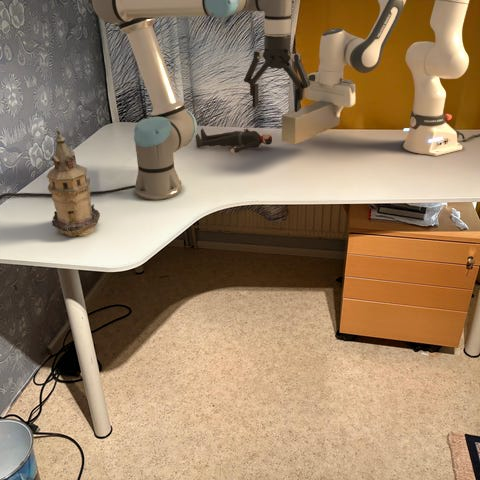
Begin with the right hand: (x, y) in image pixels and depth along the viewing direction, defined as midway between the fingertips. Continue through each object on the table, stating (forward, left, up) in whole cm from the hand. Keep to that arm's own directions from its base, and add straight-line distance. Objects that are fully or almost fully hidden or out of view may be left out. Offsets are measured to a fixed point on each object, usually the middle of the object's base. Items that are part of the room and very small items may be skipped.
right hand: (328, 114), depth 199 cm
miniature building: (+94, +33, -15) cm, 101 cm away
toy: (+31, -19, -15) cm, 39 cm away
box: (+9, +5, -4) cm, 11 cm away
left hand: (+31, +27, +12) cm, 43 cm away
